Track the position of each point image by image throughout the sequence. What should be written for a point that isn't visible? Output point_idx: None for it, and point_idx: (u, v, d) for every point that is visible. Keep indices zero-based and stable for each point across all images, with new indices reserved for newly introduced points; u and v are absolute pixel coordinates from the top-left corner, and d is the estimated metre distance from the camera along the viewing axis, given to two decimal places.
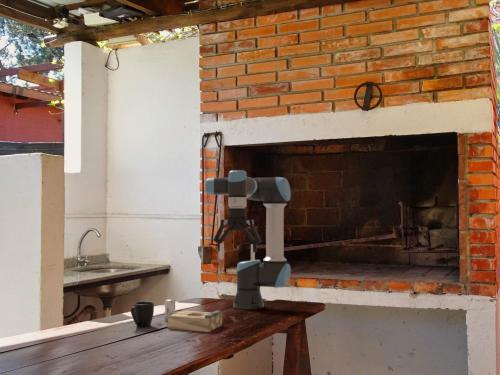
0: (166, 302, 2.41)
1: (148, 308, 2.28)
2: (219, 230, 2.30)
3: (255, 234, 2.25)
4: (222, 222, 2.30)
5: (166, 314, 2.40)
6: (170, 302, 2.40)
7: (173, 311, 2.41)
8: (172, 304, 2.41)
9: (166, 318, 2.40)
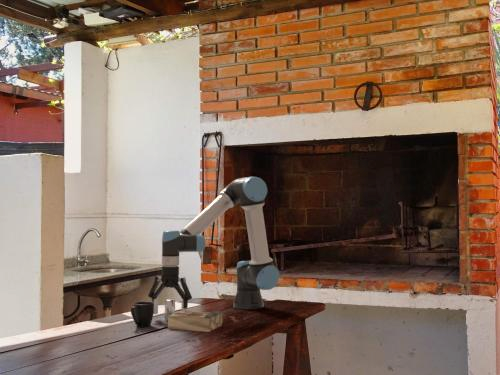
0: (166, 302, 2.41)
1: (148, 308, 2.28)
2: (153, 286, 2.44)
3: (185, 292, 2.39)
4: (156, 279, 2.44)
5: (166, 314, 2.40)
6: (170, 302, 2.40)
7: (173, 311, 2.41)
8: (172, 304, 2.41)
9: (166, 318, 2.40)
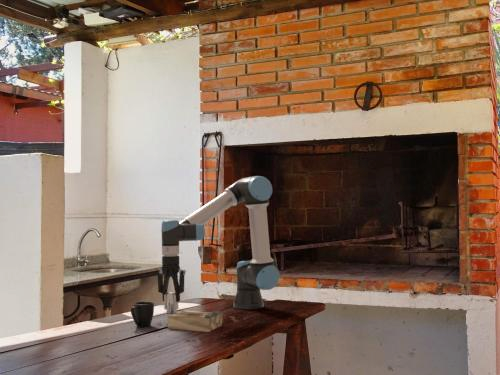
0: (167, 295, 2.41)
1: (148, 308, 2.28)
2: (159, 280, 2.44)
3: (180, 285, 2.40)
4: (158, 272, 2.44)
5: (168, 307, 2.41)
6: (171, 295, 2.41)
7: None
8: (173, 297, 2.41)
9: (168, 311, 2.41)
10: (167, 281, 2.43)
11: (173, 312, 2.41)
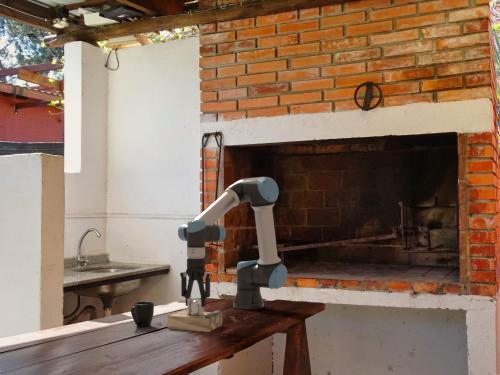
0: (192, 303, 2.28)
1: (148, 308, 2.28)
2: (182, 284, 2.31)
3: (206, 289, 2.27)
4: (182, 275, 2.31)
5: None
6: (196, 303, 2.28)
7: None
8: (198, 305, 2.28)
9: None
10: (191, 285, 2.30)
11: None
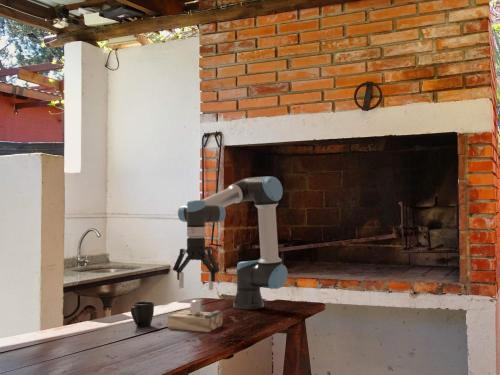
0: (192, 303, 2.28)
1: (148, 308, 2.28)
2: (178, 259, 2.32)
3: (213, 264, 2.26)
4: (181, 251, 2.31)
5: None
6: (196, 303, 2.27)
7: (199, 313, 2.28)
8: (198, 305, 2.28)
9: None
10: (187, 262, 2.32)
11: None
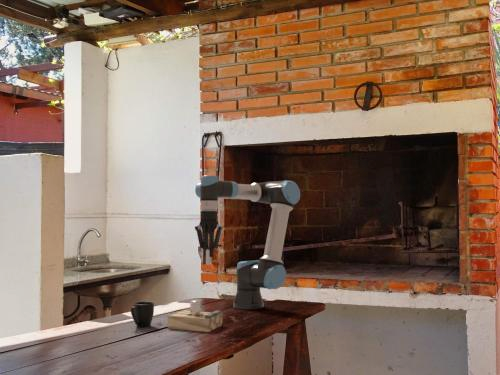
0: (192, 303, 2.28)
1: (148, 308, 2.28)
2: (199, 236, 2.43)
3: (215, 240, 2.41)
4: (196, 228, 2.44)
5: None
6: (196, 303, 2.28)
7: (199, 313, 2.28)
8: (198, 305, 2.28)
9: None
10: (207, 236, 2.43)
11: None
